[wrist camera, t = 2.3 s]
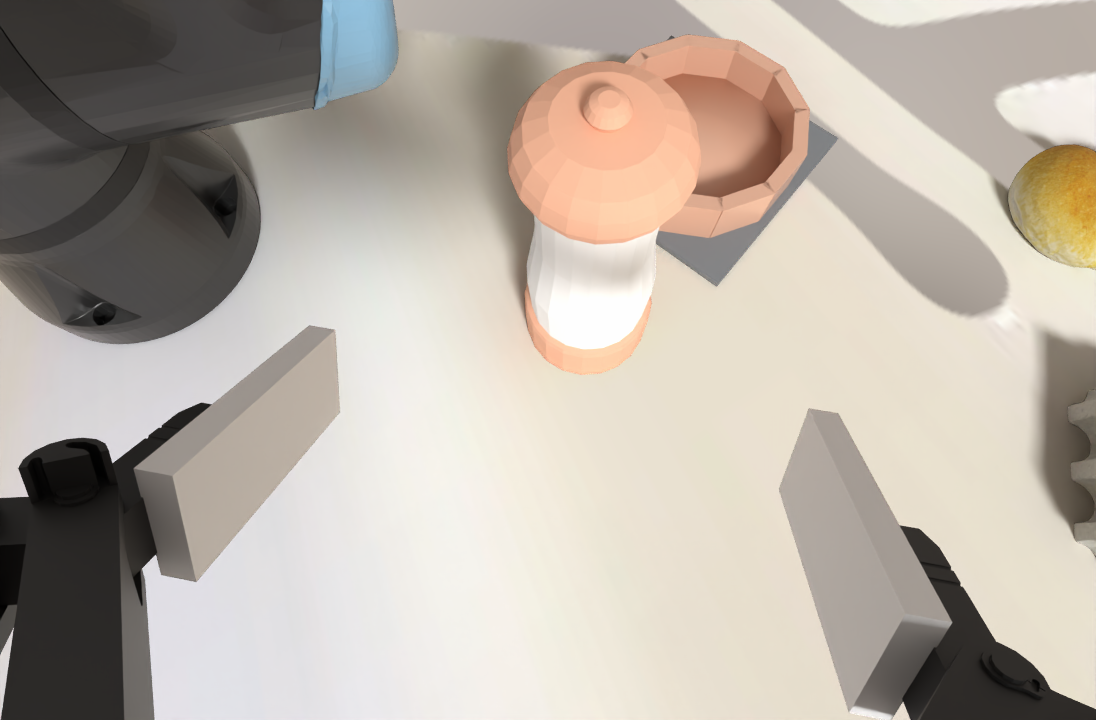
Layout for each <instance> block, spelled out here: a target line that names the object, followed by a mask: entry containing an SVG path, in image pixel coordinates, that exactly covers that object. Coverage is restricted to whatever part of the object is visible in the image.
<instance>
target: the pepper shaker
mask: <svg viewBox="0 0 1096 720" xmlns="http://www.w3.org/2000/svg"><path fill="white" fill-rule="evenodd" d="M507 153H508V173H509V176H510V178H511V180H512V183H513V185H514V187H515V189H516V192H517V194H518V196H519V198H520V200H521V201H522V202H523V203H524V205H525V206H526V207H527V208H528V209H529V210H530V211H531V212H532V213H533V214H534V223H535V229H534V233H533V238H532V242H531V247H530V251H529V255H528V260H527V281H528V283H527V286H526V290H525V310H526V317H527V324H528V331H529V334H530V336H531V338H532V341H533V343H534V346H535V348H536V349H537V350H538V351H539V352H540V353H541V355H542V356H543V357H544V358H545V359H546V360H547V361H548V362H550V363H552V364H553V365H555V366H557V367H558V368H560V369H561V370H564V371H568V372H572V373H576V374H581V375H582V374H598V373H602V372H604V371H607V370H610V369H612V368H615V367H617V366H618V365H620V364H621V363H622V362H623V361H625V360H626V359H627V358H628V357H629V356H631V354H632V353H633V351H634V350H635V348H636V346H637V345H638V343H639V342H640V340H641V337H642V334H643V332H644V329H645V327H646V324H647V321H648V317H649V312H650V308H651V304H652V302H651V293H652V289H653V285H654V281H655V276H656V237H657V234H658V230H659V227H660V226H661V225H662V224H664V223H665V222H666V221H667V220H669V219H670V218H671V217H673V216H674V215H675V214H676V213H678V212H679V211H680V210H681V209H682V207H683V206H684V204H685V202H686V201H687V199H688V198H689V196H690V195H691V193H692V192H693V190H694V189H695V187H696V183H697V178H698V174H699V169H700V164H701V149H700V143H699V136H698V130H697V124H696V122H695V120H694V118H693V117H692V115H691V113H690V111H689V109H688V108H687V106H686V104H685V102H684V101H683V99H682V98H681V97H680V96H679V94H678V93H677V92H676V91H675V90H674V89H672V88H671V87H670V86H669V85H668V84H667V83H666V82H665V81H664V80H663V79H661V78H660V77H659V76H657V75H655V74H653V73H651V72H649V71H647V70H645V69H643V68H640V67H638V66H636V65H630V64H625V63H620V62H615V61H603V62H587V63H583V64H580V65H577V66H574V67H571V68H568V69H565V70H562V71H561V72H559V73H558V74H557V75H555V76H554V77H552V78H551V79H549V80H548V81H546V82H545V83H543V84H542V85H541V86H540V87H539V88H537V89H536V90H535V91H534V92H533V93H532V95H531V96H530V97H529V99H528V100H527V101H526V102H525V104H524V105H523V106H522V108H521V109H520V110H519V111H518V114H517V117H516V120H515V124H514V127H513V130H512V133H511V136H510V139H509V143H508V147H507Z"/></svg>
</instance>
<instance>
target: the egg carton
mask: <svg viewBox="0 0 1096 720" xmlns="http://www.w3.org/2000/svg"><path fill="white" fill-rule="evenodd" d="M1068 421H1069V422H1070V423H1072V424H1074V425H1076V426H1078V427H1079V428H1080V429H1082V430H1083V431H1084V432H1085V433H1086V435H1087V436H1088V438H1089V440H1090V445H1091V449H1090V454H1089V456H1088V457H1087V458H1086V459H1085V460H1083V461H1078V462H1072V463H1071V478H1072V480H1073V481H1075V482H1077V483H1078V484H1080V485H1082V486H1083V487H1084V488H1086V489H1087V490H1088V491H1089V493H1090V494H1091V496H1092V498H1093V501H1094V505H1095V510H1094V513H1093V515H1092V517H1091V518H1090V519H1089V520H1088V521H1086V522H1083V523H1075V524H1074V536H1075V540H1076V542H1078V543H1080V544H1083V545H1085V546H1086V547H1088V548H1089V549H1090V550H1091V551H1092V552H1093V554H1094V555H1095V557H1096V389H1095V390H1091V391H1088V394H1087V397H1086V399H1085V400H1084V402H1082V403H1078V404H1073V405H1071V406H1068Z"/></svg>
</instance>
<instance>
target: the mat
mask: <svg viewBox="0 0 1096 720" xmlns="http://www.w3.org/2000/svg"><path fill="white" fill-rule="evenodd" d="M671 39H674V37H673V36H671V37H670V38H669V39H668V40H671ZM837 139H838V138H837V137H836V136H834V135H832V134H831V133H829V132H827V131H826V130H824V129H823V128H821V127H819V126H818V125H816V124H814V123H813V122H811V121H810V120H809V132H808V150H807V156H806V158H805V160H804V161H803V163H802V164H801V166H800V168H799V169H798V171H797V172H796V174H795V176H794V177H793V179H792V180H791V182H790V184H789V185H788V187H787V188H786V189H785V190H784V191H783V193H782V194H781V195H780V196H779V197H778V199H777V200H776V201H775V202H774V203H773V205H772V206H771V207H770V208H769V210H768V211H767V212H766V213H765V214H764V216H763V217H762V218H761V219H760V220H759V221H758V222H756V223H753V224H750V225H747V226H744V227H741V228H738V229H735V230H732V231H729V232H726V233H723V234H720V235H718V236H715V237H712V238H710V237H709V238H705V237H698V236H691V235H684V234H677V233H671V232H664V231H658V234H657V237H656V244H657V245H659V246H660V247H662V248H663V249H664V250H666V251H667V252H669V253H670V254H671V255H673V256H674V257H676V258H677V259H679V260H680V261H681V262H683V263H684V264H686V265H687V266H688V267H690V268H691V269H693V270H694V271H695V272H697V273H698V274H700V275H701V276H703V277H704V278H705V279H707V280H708V281H710V282H711V283H712V284H714V285H715V286H718V284H719V283H720V282H721V281H722V279H723V278H724V277H725V276H726V275H727V273H728V272H729V271H730V270H731V269H732V267H733V266H734V265H735V264H736V262H737V261H738V260H739V259H740V258H741V256H742V255H743V254H744V253H745V252H746V250H747V249H748V248H749V247H750V245H751V244H752V243H753V242H754V241H755V239H756V238H757V237H758V236H759V235H760V233H761V232H762V231H763V230H764V228H765V227H766V226H767V225H768V224H769V222H770V221H771V220H772V219H773V218H774V216H775V215H776V214H777V213H778V211H779V210H780V209H781V208H782V207H783V205H784V204H785V203H786V202H787V201H788V199H789V198H790V197H791V196H792V194H793V193H794V192H795V191H796V190H797V188H798V187H799V186H800V185H801V184H802V182H803V181H804V180H805V179H806V177H807V176H808V175H809V174H810V173H811V171H812V170H813V169H814V168H815V167H816V165H817V164H818V163H819V162H820V160H821V159H822V158H823V157H824V156H825V154H826V153H827V152H828V151H829V150H830V148H831V147H832V146H833V145H834V143H835V142H836V141H837Z"/></svg>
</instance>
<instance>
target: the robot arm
mask: <svg viewBox="0 0 1096 720" xmlns="http://www.w3.org/2000/svg"><path fill="white" fill-rule="evenodd" d="M397 59H398V37H397V28H396V20H395V14H394V6H393V0H0V280H1V282H2V283H3V284H4V285H5V286H6V287H7V288H8V289H9V290H10V291H11V292H12V293H13V294H14V295H15V296H16V297H17V298H18V299H19V300H20V302H21V303H22V304H23V305H25V306H26V307H27V308H28V309H29V310H30V311H32V312H33V313H34V314H36V315H37V316H39V317H40V318H42V319H43V320H45V321H47V322H49V323H51V324H53V325H55V326H57V327H59V328H62V329H64V330H66V331H68V332H70V333H73V334H75V335H77V336H80V337H82V338H85V339H88V340H92V341H96V342H102V343H110V344H130V343H139V342H145V341H150V340H154V339H158V338H161V337H164V336H167V335H170V334H172V333H175V332H177V331H179V330H181V329H183V328H185V327H187V326H189V325H191V324H193V323H194V322H196V321H198V320H199V319H201V318H202V317H204V316H205V315H206V314H208V313H209V312H210V311H212V310H213V309H214V308H215V307H216V306H218V305H219V304H220V303H221V302H222V301H223V300H224V299H225V298H226V297H227V296H228V295H229V294H230V292H231V291H232V290H233V289H234V288H235V286H236V285H237V284H238V282H239V281H240V279H241V278H242V276H243V275H244V273H245V271H246V270H247V268H248V266H249V264H250V262H251V260H252V257H253V255H254V252H255V249H256V246H257V242H258V237H259V230H260V211H259V204H258V200H257V196H256V193H255V191H254V188H253V186H252V184H251V182H250V180H249V179H248V177H247V176H246V174H245V173H244V172H243V170H242V169H241V168H240V167H239V166H238V165H237V163H236V162H235V161H234V160H233V159H232V157H231V156H230V155H229V154H228V153H227V152H226V151H225V149H224V148H222V147H221V146H220V145H219V144H218V143H217V142H216V141H214V140H213V139H212V138H210V137H209V136H208V135H206V134H204V133H203V132H201V131H200V130H205V129H210V128H215V127H220V126H225V125H230V124H234V123H239V122H244V121H249V120H254V119H259V118H263V117H268V116H273V115H278V114H283V113H288V112H293V111H297V110H302V109H307V108H313V109H314V110H316V109H320V107H324V106H326V104H327V102H328V101H332V100H335V99H339V98H343V97H346V96H350V95H354V94H357V93H361V92H365V91H368V90H372V89H375V88H377V87H378V86H380V85H381V84H383V83H384V82H385V81H386V80H387V79H388V77H389V76H390V75H391V73H392V72H393V71H394V68H395V66H396V64H397ZM339 413H340V403H339V386H338V369H337V352H336V335H335V330H333V329H327V328H321V327H315V326H308V327H307V328H306V329H304V330H303V331H302V332H301V333H299V334H298V335H297V336H296V337H294V338H293V339H292V340H291V341H290V342H288V343H287V344H286V345H285V346H283V347H282V348H281V349H280V350H279V351H277V352H276V353H275V354H274V355H272V356H271V357H270V358H269V359H267V360H266V361H265V362H264V363H263V364H261V365H260V366H259V367H258V368H256V369H255V370H254V371H253V372H252V373H250V374H249V375H248V376H247V377H245V378H244V379H243V380H242V381H240V382H239V383H238V384H237V385H236V386H234V387H233V388H232V389H231V390H229V391H228V392H227V393H226V394H224V395H223V396H222V397H221V398H220V399H218V400H217V401H216V402H215V403H213V404H206V403H199V404H197V405H195V406H192V407H190V408H188V409H185V410H183V411H181V412H179V413H177V414H176V415H175V416H173V417H172V418H171V419H170V420H168V421H167V422H166V423H164V424H163V425H162V428H158V429H157V430H155V431H154V432H153V433H151V434H150V435H149V437H148V439H146V438H145V439H144V440H142V441H141V442H140V443H138V444H137V445H136V446H135V447H133V448H132V449H131V450H129V451H128V452H127V453H125V454H124V455H123V456H122V457H120V458H119V459H118V460H116V461H115V462H114V463H113V464H112V461H111V457H110V454H109V450H108V448H107V446H106V444H105V443H103V442H101V441H99V440H97V439H90V438H76V439H66V440H62V441H59V442H55V443H51V444H48V445H46V446H44V447H42V448H40V449H38V450H35V451H34V452H32V453H31V454H30V455H28V456H27V457H26V458H25V459H23V461H22V463H21V464H20V466H19V468H18V469H19V471H20V474H21V477H22V479H23V482H24V485H25V488H26V490H27V493H28V496H29V497H15V498H0V654H1V652H2V650H3V648H4V646H5V644H6V642H7V640H8V638H9V636H10V634H11V632H12V630H13V627H14V631H13V638H12V646H11V653H10V660H9V667H8V674H7V681H6V688H5V695H4V702H3V709H2V716H1V720H154V706H153V691H152V676H151V662H150V647H149V632H148V617H147V602H146V588H145V578H144V575H143V571H142V568H143V567H144V566H145V565H146V564H147V563H148V562H149V561H150V560H151V559H152V558H153V557H154V556H155V555H156V556H157V560H158V564H159V568H160V572H161V575H164V576H169V577H174V578H179V579H184V580H189V581H194V582H197V581H198V580H199V578H200V577H201V576H202V575H203V574H204V572H205V571H206V570H207V569H208V568H209V566H210V565H211V564H212V563H213V562H214V561H215V559H216V558H217V557H218V556H219V555H220V553H221V552H222V551H223V550H224V549H225V548H226V546H227V545H228V544H229V543H230V542H231V540H232V539H233V538H234V537H235V536H236V535H237V533H238V532H239V531H240V530H241V529H242V527H243V526H244V525H245V524H246V523H247V522H248V520H249V519H250V518H251V517H252V516H253V514H254V513H255V512H256V511H257V510H258V509H259V507H260V506H261V505H262V504H263V503H264V501H265V500H266V499H267V498H268V497H269V495H270V494H271V493H272V492H273V491H274V490H275V488H276V487H277V486H278V485H279V484H280V482H281V481H282V480H283V479H284V478H285V477H286V475H287V474H288V473H289V472H290V471H291V469H292V468H293V467H294V466H295V465H296V464H297V462H298V461H299V460H300V459H301V458H302V456H303V455H304V454H305V453H306V452H307V451H308V449H309V448H310V447H311V446H312V445H313V443H314V442H315V441H316V440H317V439H318V438H319V436H320V435H321V434H322V433H323V432H324V430H325V429H326V428H327V427H328V426H329V424H330V423H331V422H332V421H333V420H334V419H335V417H336V416H337V415H338V414H339ZM779 492H780V495H781V498H782V501H783V504H784V507H785V511H786V514H787V517H788V520H789V523H790V527H791V530H792V533H793V536H794V539H795V542H796V546H797V549H798V552H799V555H800V558H801V562H802V565H803V568H804V571H805V574H806V577H807V581H808V584H809V587H810V590H811V593H812V597H813V600H814V603H815V606H816V609H817V612H818V616H819V619H820V622H821V625H822V628H823V632H824V635H825V638H826V641H827V644H828V647H829V651H830V654H831V657H832V660H833V663H834V667H835V670H836V673H837V676H838V679H839V683H840V686H841V689H842V692H843V695H844V698H845V702H846V705H847V708H848V711H849V713H852V714H857V715H862V716H867V717H872V718H877V719H882V720H892V718H893V716H894V715H895V713H896V712H897V710H898V709H899V707H900V705H901V704H902V702H904V704H905V707H906V709H907V712H908V714H909V717H910V719H911V720H1096V709H1094V708H1092V707H1089V706H1087V705H1085V704H1082V703H1080V702H1078V701H1075V700H1073V699H1071V698H1068V697H1066V696H1064V695H1061V694H1059V693H1057V692H1055V691H1053V690H1051V689H1050V687H1049V685H1048V683H1047V682H1046V680H1045V678H1044V676H1043V675H1042V674H1041V673H1040V672H1039V671H1038V670H1037V669H1036V668H1035V667H1034V665H1033V664H1032V663H1031V662H1029V661H1028V660H1027V659H1025V658H1024V657H1023V656H1021V655H1020V654H1019V653H1017V652H1016V651H1014V650H1012V649H1010V648H1008V647H1006V646H1004V645H1002V644H1000V643H998V642H996V641H995V639H994V637H993V636H992V634H991V633H990V631H989V629H988V628H987V626H986V624H985V623H984V621H983V619H982V618H981V616H980V614H979V613H978V611H977V609H976V608H975V606H974V604H973V603H972V601H971V599H970V598H969V596H968V594H967V593H966V591H965V589H964V588H963V587H961V586H960V584H961V583H960V581H959V579H958V578H957V576H956V574H955V573H954V571H951V566H950V564H949V563H948V561H947V559H946V558H945V556H944V555H943V553H942V551H941V550H940V548H939V547H938V546H937V545H936V544H935V543H934V542H933V541H932V540H931V539H930V538H929V537H928V536H926V535H925V534H924V533H923V532H922V531H921V530H920V529H917V528H911V527H906V526H900V525H899V524H898V522H897V520H896V518H895V516H894V515H893V513H892V511H891V509H890V507H889V505H888V504H887V502H886V500H885V498H884V496H883V494H882V493H881V491H880V489H879V487H878V485H877V483H876V482H875V480H874V478H873V476H872V474H871V472H870V471H869V469H868V467H867V465H866V463H865V461H864V460H863V458H862V456H861V454H860V452H859V450H858V449H857V447H856V445H855V443H854V441H853V439H852V438H851V436H850V434H849V432H848V430H847V428H846V427H845V425H844V423H843V421H842V419H841V418H840V416H839V414H838V413H833V412H827V411H821V410H815V409H808V412H807V415H806V418H805V420H804V423H803V426H802V428H801V431H800V434H799V436H798V439H797V442H796V444H795V447H794V450H793V453H792V455H791V458H790V461H789V463H788V466H787V469H786V471H785V474H784V477H783V479H782V482H781V485H780V487H779Z"/></svg>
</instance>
